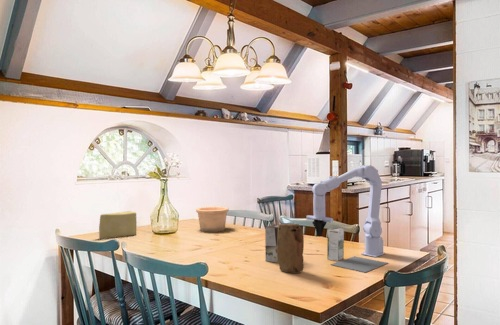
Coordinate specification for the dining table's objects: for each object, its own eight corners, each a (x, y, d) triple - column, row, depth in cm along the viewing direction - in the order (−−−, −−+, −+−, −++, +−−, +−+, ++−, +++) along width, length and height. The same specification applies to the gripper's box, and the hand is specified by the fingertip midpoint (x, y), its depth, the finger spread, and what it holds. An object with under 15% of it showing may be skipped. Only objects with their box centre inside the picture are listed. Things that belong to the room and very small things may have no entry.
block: (275, 269, 166) (275, 223, 166) (287, 266, 171) (287, 221, 171) (295, 275, 158) (294, 226, 158) (306, 271, 163) (306, 224, 163)
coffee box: (277, 262, 178) (277, 227, 178) (265, 261, 181) (264, 226, 181) (286, 258, 186) (285, 224, 186) (274, 256, 189) (273, 223, 189)
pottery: (203, 234, 248) (203, 211, 248) (191, 228, 267) (191, 208, 267) (234, 230, 258) (233, 209, 258) (220, 226, 277) (220, 206, 277)
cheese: (102, 240, 232) (102, 215, 231) (96, 238, 239) (96, 213, 239) (137, 235, 247) (137, 211, 247) (130, 233, 254) (129, 210, 254)
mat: (354, 256, 187) (354, 256, 187) (388, 263, 175) (388, 262, 175) (330, 265, 173) (330, 264, 173) (365, 272, 161) (365, 272, 161)
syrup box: (332, 257, 187) (332, 227, 187) (344, 259, 183) (343, 228, 183) (327, 259, 183) (326, 228, 182) (338, 261, 179) (338, 230, 179)
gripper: (302, 207, 192) (302, 234, 192) (327, 210, 181) (327, 239, 181) (311, 206, 197) (311, 232, 197) (335, 208, 186) (335, 236, 186)
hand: (319, 235), depth 189 cm, fingers closed
